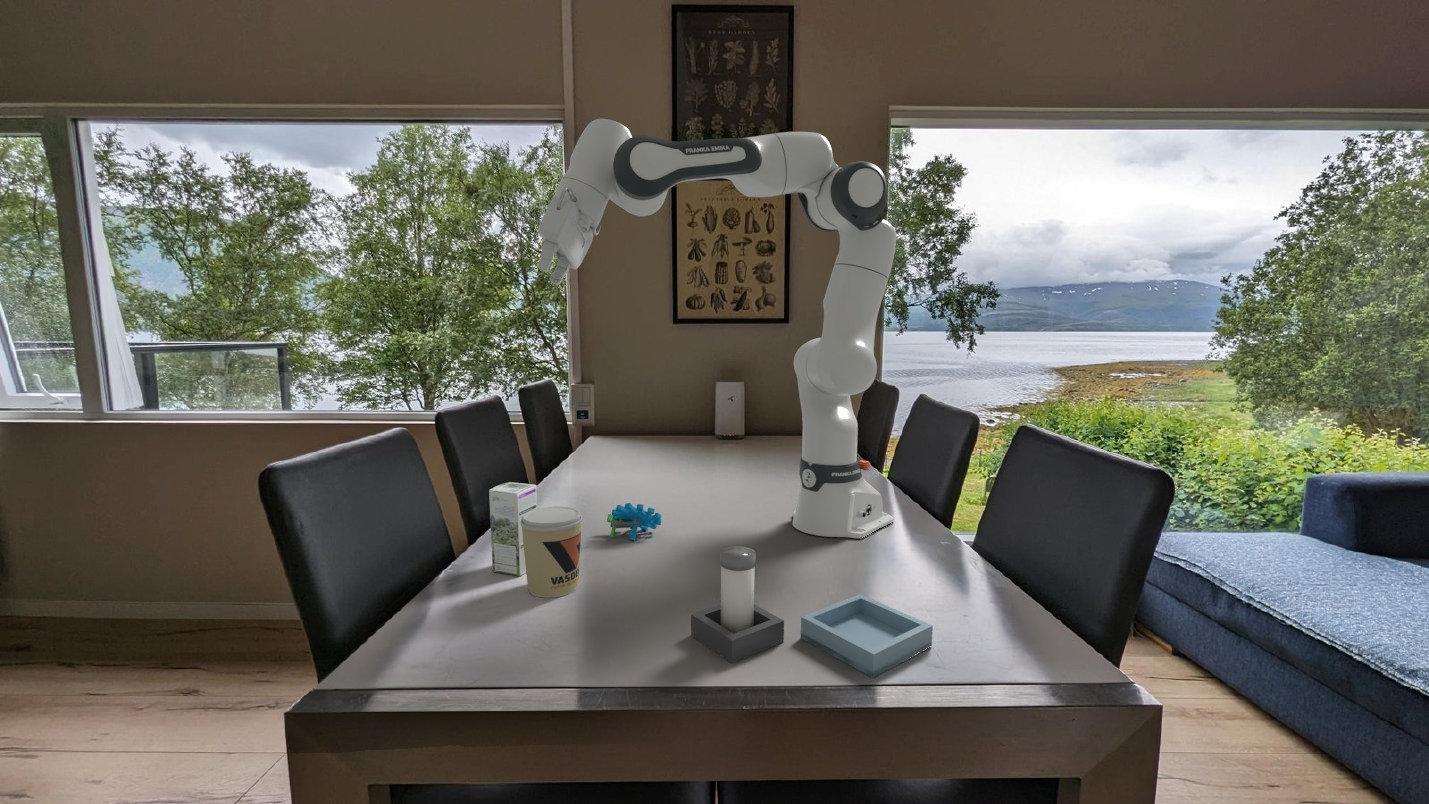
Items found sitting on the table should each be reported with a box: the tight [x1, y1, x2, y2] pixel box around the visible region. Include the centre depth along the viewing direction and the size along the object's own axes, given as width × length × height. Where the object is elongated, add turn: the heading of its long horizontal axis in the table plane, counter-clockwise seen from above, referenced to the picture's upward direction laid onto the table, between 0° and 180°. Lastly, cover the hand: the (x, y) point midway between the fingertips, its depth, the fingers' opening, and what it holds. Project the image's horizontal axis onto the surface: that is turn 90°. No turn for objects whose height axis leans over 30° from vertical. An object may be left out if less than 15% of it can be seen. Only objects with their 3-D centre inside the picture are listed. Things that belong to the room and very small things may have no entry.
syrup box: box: [488, 481, 538, 577], centre depth 106 cm, size 6×6×14 cm
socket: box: [690, 603, 785, 664], centre depth 84 cm, size 9×9×3 cm
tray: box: [800, 593, 934, 679], centre depth 83 cm, size 12×12×3 cm
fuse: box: [719, 545, 757, 634], centre depth 83 cm, size 5×5×12 cm
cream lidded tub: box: [521, 506, 583, 599], centre depth 99 cm, size 9×9×12 cm
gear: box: [606, 502, 662, 542], centre depth 123 cm, size 11×6×10 cm
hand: (548, 277), depth 111 cm, fingers open, 8 cm apart
